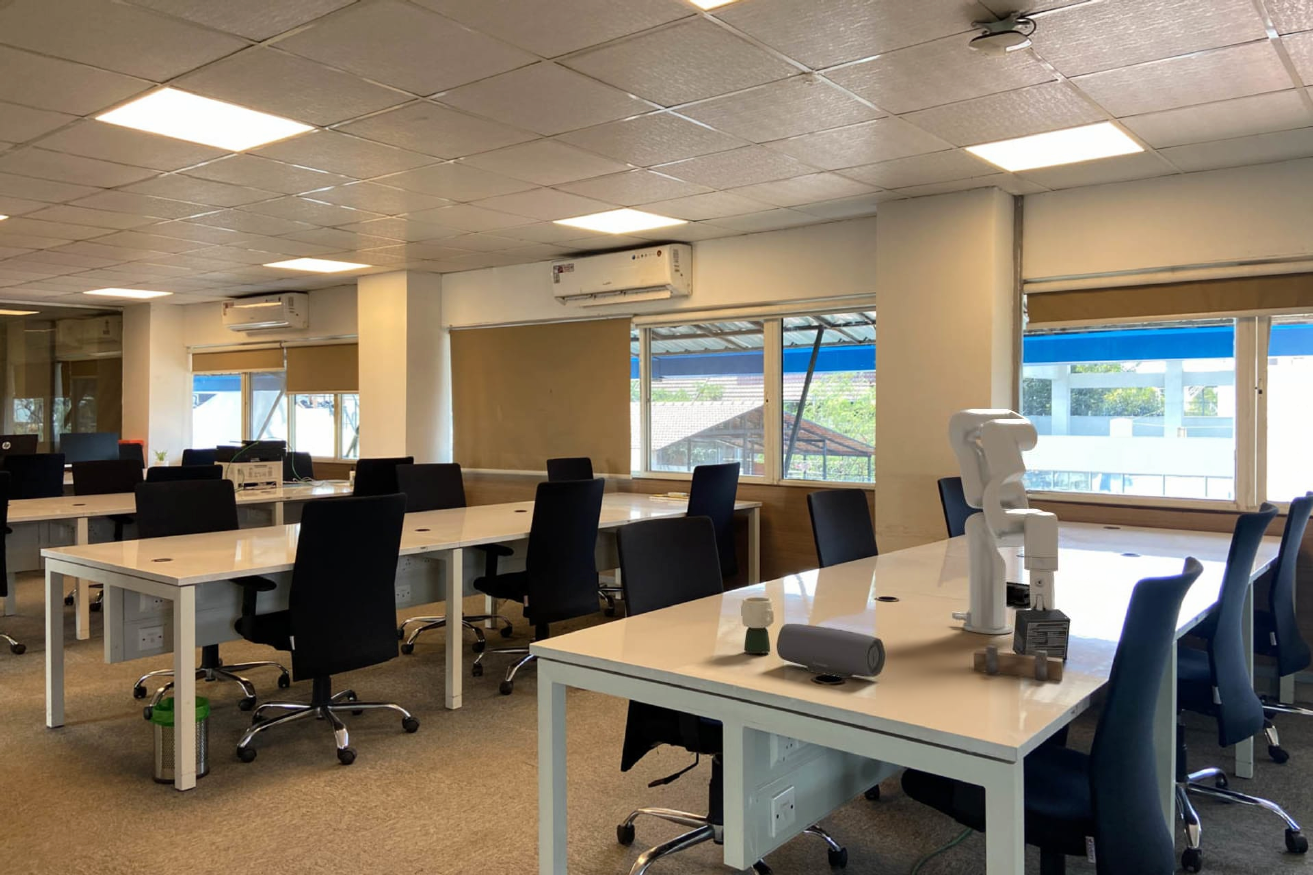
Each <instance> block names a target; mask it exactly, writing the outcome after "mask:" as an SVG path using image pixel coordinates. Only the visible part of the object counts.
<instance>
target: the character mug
mask: <svg viewBox="0 0 1313 875" xmlns="http://www.w3.org/2000/svg"><path fill="white" fill-rule="evenodd" d="M740 615H741V617H742V625H743V626H744V627H747V629H746V632H745V639H744V647H743V649H744V652H745V653H750V654H760V655H763V654H762V653H770V652H771V643H770V642H771V641H770V635H769V630H768V629H767V628H768V627H770V626H771V625H772V624H774V621H775V620H774V619H775V614H774V610H773V601H772V598H769V597H763V596H760V597H759V596H749V597H743V598H742V602H741V605H740Z"/></svg>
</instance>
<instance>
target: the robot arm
mask: <svg viewBox="0 0 1313 875" xmlns="http://www.w3.org/2000/svg"><path fill="white" fill-rule="evenodd" d="M947 433H948V438H949V443H950V446H951V449H952V451H953V453H954V456H955V458H956V461H957V464H958V467H959V468H958V469H959V475H960V480H961V485H962V491H963V496H964V499H965V502H966V504H967V505H968V506H969V507H971V508H972V509H981V510H982V511H983V512H982V511H981V512H976V513H973V514H971V515H969V516H968V517H967V518H966V520H965V523H964V534H965V538H966V547H967V554H968V555H967V557H968V610H967V611H964V612H960V611H952V612H951V615H952V616H951V618H952V619H953V620H956V621H964V622H963V623H962V628H963V629H964V630H966V631H969V632H972V633H978V634H984V635H985V634H986V635H987V634H988V635H1004V634H1009V633H1012V632H1013V631H1014V630H1013V629H1014V627H1013V626H1012V625H1011V624H1009V623H1007V606H1006V582H1007V564H1006V561H1005V558H1004V557H1003V556H1002V554H1001V553H1000V552H999V550H998V548H1021V547H1023V551H1024V552H1023V553H1024V554H1023V556H1024V557H1023V560H1024V561H1023V569H1024V570H1026V571H1029V584H1030V605H1031V607H1030V610H1045V609H1046V610H1047V611H1053V609H1056V600H1055V599H1056V598H1055V574H1054V572H1058V571H1059V520H1058V516H1057V514H1055V513H1054V512H1049V511H1043V510H1041V509H1038V508H1030V506H1029V502H1028V501H1029V500H1028V497H1027V492H1026V488H1025V485H1024V483H1023V482H1022V478H1024V476H1025V474H1026V472H1027V469H1026V466H1025V463H1024V459H1023V456H1022V453H1021V452H1028V451H1032V450H1034V448H1035V447H1036V446H1037V444H1038V441H1039V440H1038V438H1039V437H1038V431H1037V429H1036V426H1035V425H1034V424H1033V422H1032V421H1031V420H1029V419H1028V418H1027V417H1025V416H1023V415H1020V414H1019V413H1017V412H1015V411H1014V410H1013V411H1012V410H1010V409H1004V408H1003V409H1002V408H999V409H998V408H997V409H995V408H991V409H985V408H983V409H982V408H980V409H979V408H970V409H968V408H967V409H962V410H959V411H957V412H954V413H953V414H952V415H951V416H950V419H949V421H948V432H947ZM979 440H980V443H981V445H980V444H979V443H978V442H977V441H979Z"/></svg>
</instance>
